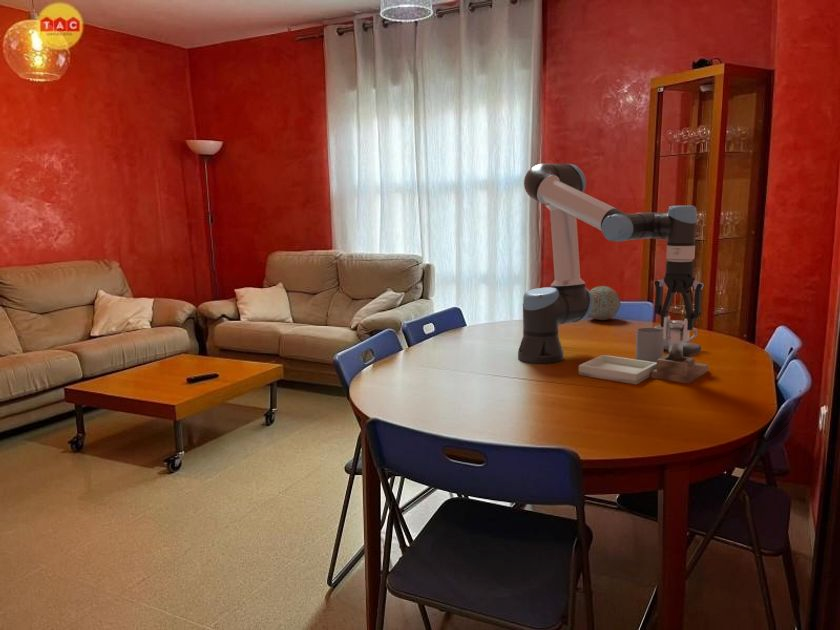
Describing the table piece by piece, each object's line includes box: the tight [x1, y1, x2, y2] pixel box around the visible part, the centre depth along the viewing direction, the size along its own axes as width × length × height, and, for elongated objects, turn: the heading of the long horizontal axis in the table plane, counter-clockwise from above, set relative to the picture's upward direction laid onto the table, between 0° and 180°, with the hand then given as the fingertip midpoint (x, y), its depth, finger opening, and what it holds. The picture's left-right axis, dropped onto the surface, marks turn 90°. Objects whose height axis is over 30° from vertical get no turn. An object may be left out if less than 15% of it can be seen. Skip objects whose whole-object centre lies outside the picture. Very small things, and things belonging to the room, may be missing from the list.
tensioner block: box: [650, 342, 709, 384], centre depth 190 cm, size 11×17×8 cm, turn 138°
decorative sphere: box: [589, 285, 621, 321], centre depth 276 cm, size 15×15×15 cm
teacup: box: [654, 324, 698, 351], centre depth 221 cm, size 14×11×8 cm
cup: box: [635, 327, 665, 362], centre depth 207 cm, size 8×8×10 cm
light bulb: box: [667, 319, 684, 359], centre depth 186 cm, size 5×5×10 cm
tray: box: [578, 354, 657, 385], centre depth 193 cm, size 18×16×3 cm
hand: (676, 339), depth 186 cm, fingers closed on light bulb, 5 cm apart
